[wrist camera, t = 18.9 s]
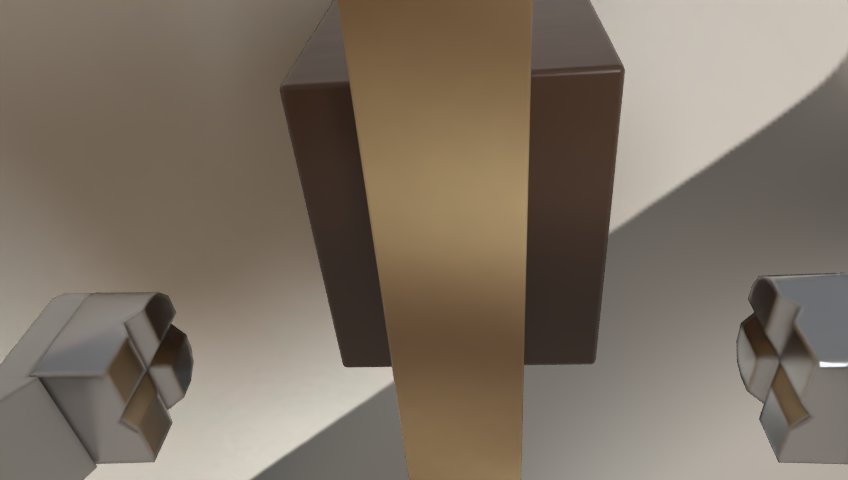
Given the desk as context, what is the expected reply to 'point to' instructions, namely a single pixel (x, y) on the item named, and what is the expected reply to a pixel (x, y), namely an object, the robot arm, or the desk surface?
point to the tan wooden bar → (448, 218)
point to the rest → (547, 184)
